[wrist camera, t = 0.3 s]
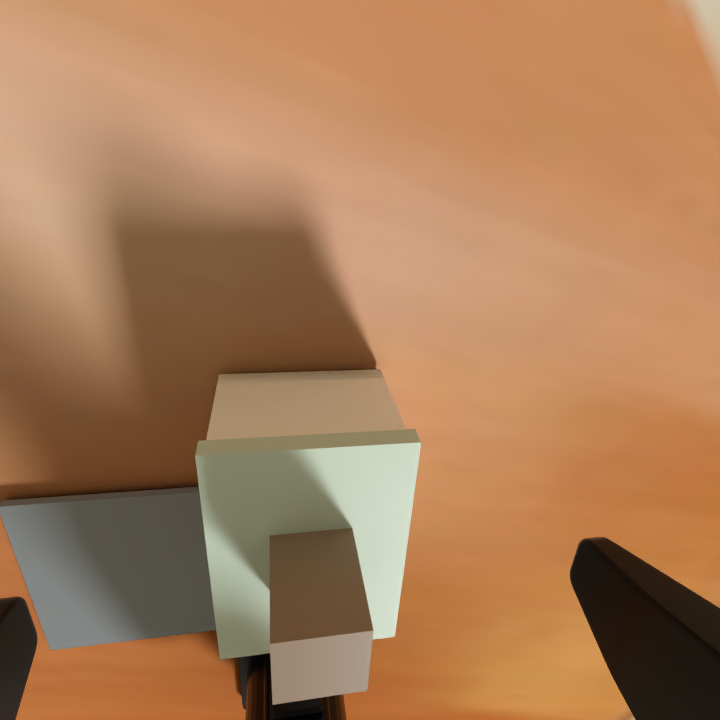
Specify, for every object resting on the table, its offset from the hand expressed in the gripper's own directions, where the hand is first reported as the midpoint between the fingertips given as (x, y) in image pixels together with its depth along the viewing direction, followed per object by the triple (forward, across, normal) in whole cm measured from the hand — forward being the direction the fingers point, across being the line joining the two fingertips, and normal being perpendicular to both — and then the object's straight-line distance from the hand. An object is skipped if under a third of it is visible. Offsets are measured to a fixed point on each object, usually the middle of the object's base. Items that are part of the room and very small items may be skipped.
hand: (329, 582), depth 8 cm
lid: (+8, 0, +8) cm, 12 cm away
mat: (+14, +9, +14) cm, 21 cm away
